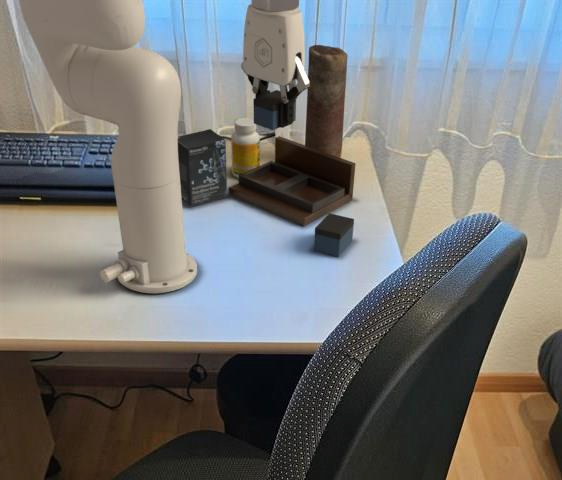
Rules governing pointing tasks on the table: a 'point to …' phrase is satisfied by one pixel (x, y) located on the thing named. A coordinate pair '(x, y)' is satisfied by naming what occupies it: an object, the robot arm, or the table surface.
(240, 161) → the supplement bottle
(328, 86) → the candle
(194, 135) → the box
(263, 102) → the dark grey block
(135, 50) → the robot arm
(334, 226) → the blue lidded block
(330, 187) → the brown wooden organizer
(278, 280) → the table surface
